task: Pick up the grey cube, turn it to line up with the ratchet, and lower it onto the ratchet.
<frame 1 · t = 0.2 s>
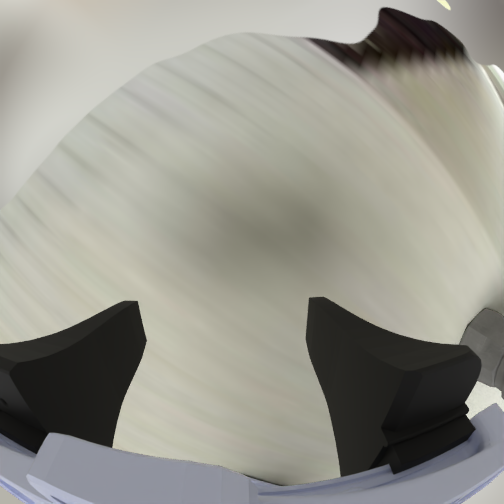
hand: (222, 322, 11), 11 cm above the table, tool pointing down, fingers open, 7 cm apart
coffeepot: (482, 338, 24), on the table
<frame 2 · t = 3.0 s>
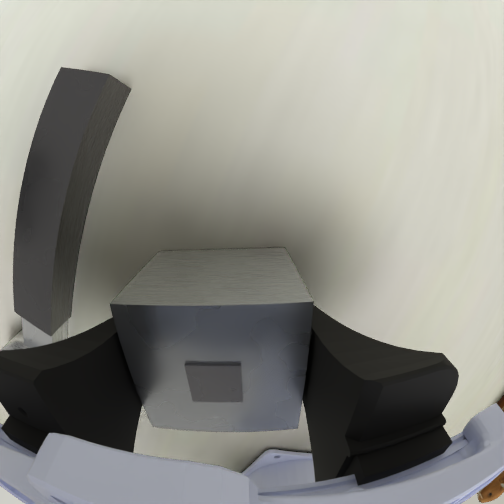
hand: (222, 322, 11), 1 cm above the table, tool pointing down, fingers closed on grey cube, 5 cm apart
ratchet: (54, 376, 14), on the table
grey cube: (224, 306, 12), on the table, touching gripper
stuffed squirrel: (483, 444, 24), on the table
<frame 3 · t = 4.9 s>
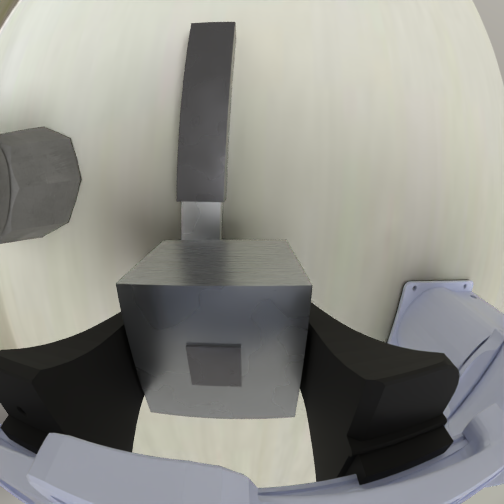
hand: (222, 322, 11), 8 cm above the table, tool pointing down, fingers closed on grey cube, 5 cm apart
ratchet: (204, 288, 19), on the table
grey cube: (225, 296, 13), point 7 cm above the table, touching gripper
coffeepot: (37, 173, 16), on the table
when the fingers open (5 cm above the table, at t = 6.9 s): grey cube stays where it is, resting on ratchet.
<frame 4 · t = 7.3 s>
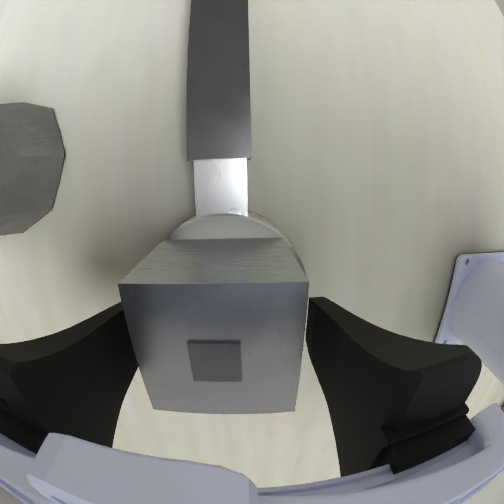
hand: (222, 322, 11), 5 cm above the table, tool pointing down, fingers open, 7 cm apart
ratchet: (227, 279, 15), on the table
grey cube: (224, 294, 13), point 2 cm above the table, touching ratchet
coffeepot: (17, 157, 12), on the table
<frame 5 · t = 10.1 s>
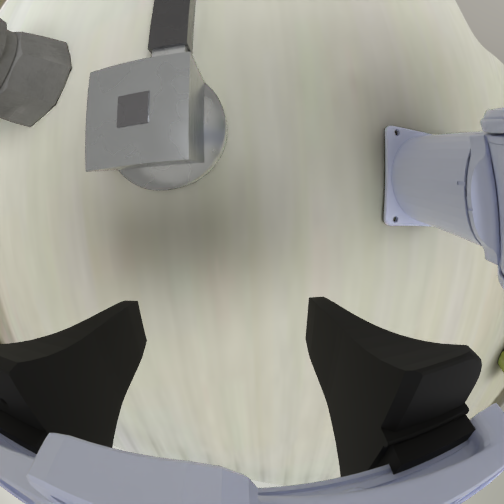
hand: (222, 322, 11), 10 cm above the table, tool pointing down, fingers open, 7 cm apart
ratchet: (172, 133, 18), on the table
grey cube: (162, 124, 15), point 2 cm above the table, touching ratchet
coffeepot: (34, 78, 15), on the table
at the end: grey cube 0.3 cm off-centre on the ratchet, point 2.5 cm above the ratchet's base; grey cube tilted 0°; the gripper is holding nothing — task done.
